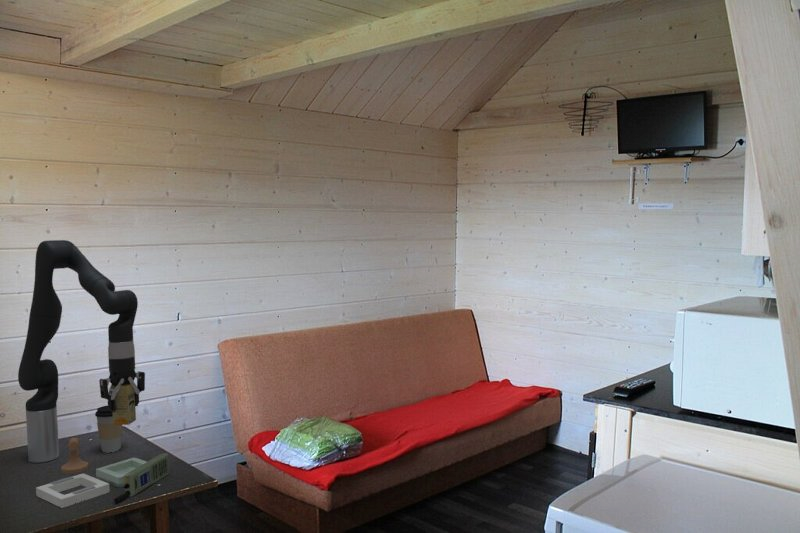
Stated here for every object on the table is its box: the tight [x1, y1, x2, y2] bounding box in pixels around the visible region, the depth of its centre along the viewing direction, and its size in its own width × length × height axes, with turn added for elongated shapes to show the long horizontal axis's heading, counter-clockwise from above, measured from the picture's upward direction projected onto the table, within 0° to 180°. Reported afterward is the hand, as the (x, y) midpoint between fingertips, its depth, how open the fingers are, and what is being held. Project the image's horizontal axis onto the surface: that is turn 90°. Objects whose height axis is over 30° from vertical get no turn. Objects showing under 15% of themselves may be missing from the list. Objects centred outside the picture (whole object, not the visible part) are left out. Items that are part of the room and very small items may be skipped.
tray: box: [95, 457, 147, 488], centre depth 215 cm, size 13×13×3 cm
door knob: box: [60, 437, 90, 475], centre depth 222 cm, size 8×10×8 cm
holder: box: [35, 473, 111, 509], centre depth 201 cm, size 15×14×3 cm
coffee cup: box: [94, 404, 123, 454], centre depth 240 cm, size 9×9×15 cm
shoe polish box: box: [110, 384, 137, 426], centre depth 213 cm, size 5×5×12 cm
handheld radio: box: [113, 452, 170, 503], centre depth 205 cm, size 7×3×25 cm
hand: (123, 408), depth 213 cm, fingers closed on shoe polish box, 7 cm apart
